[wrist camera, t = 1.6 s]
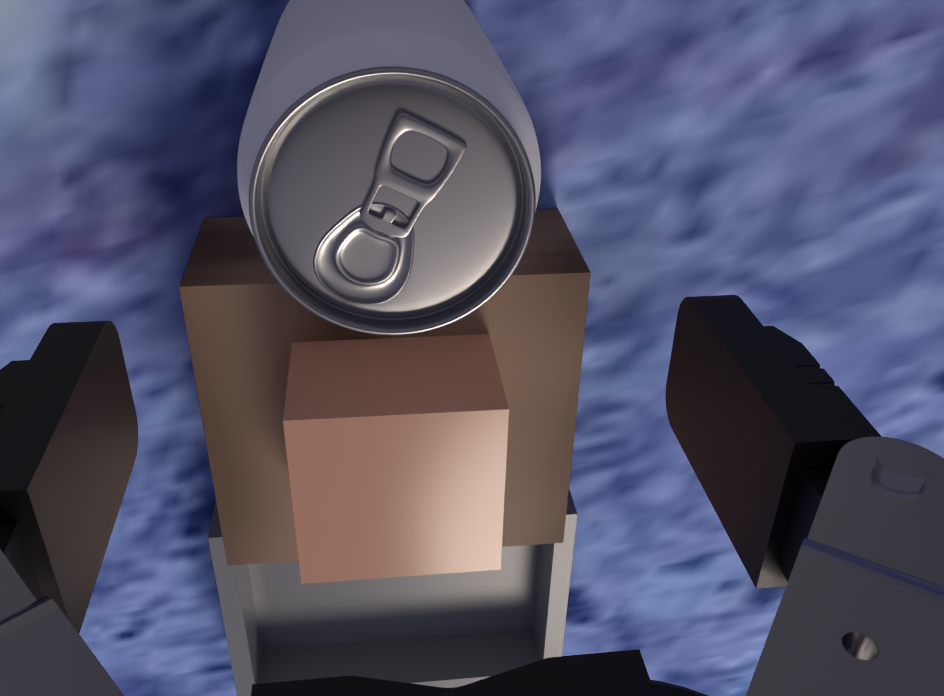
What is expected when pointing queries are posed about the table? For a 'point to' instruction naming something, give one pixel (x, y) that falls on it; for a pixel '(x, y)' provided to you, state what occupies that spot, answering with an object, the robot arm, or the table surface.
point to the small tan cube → (396, 456)
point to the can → (387, 163)
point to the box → (395, 618)
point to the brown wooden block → (285, 321)
